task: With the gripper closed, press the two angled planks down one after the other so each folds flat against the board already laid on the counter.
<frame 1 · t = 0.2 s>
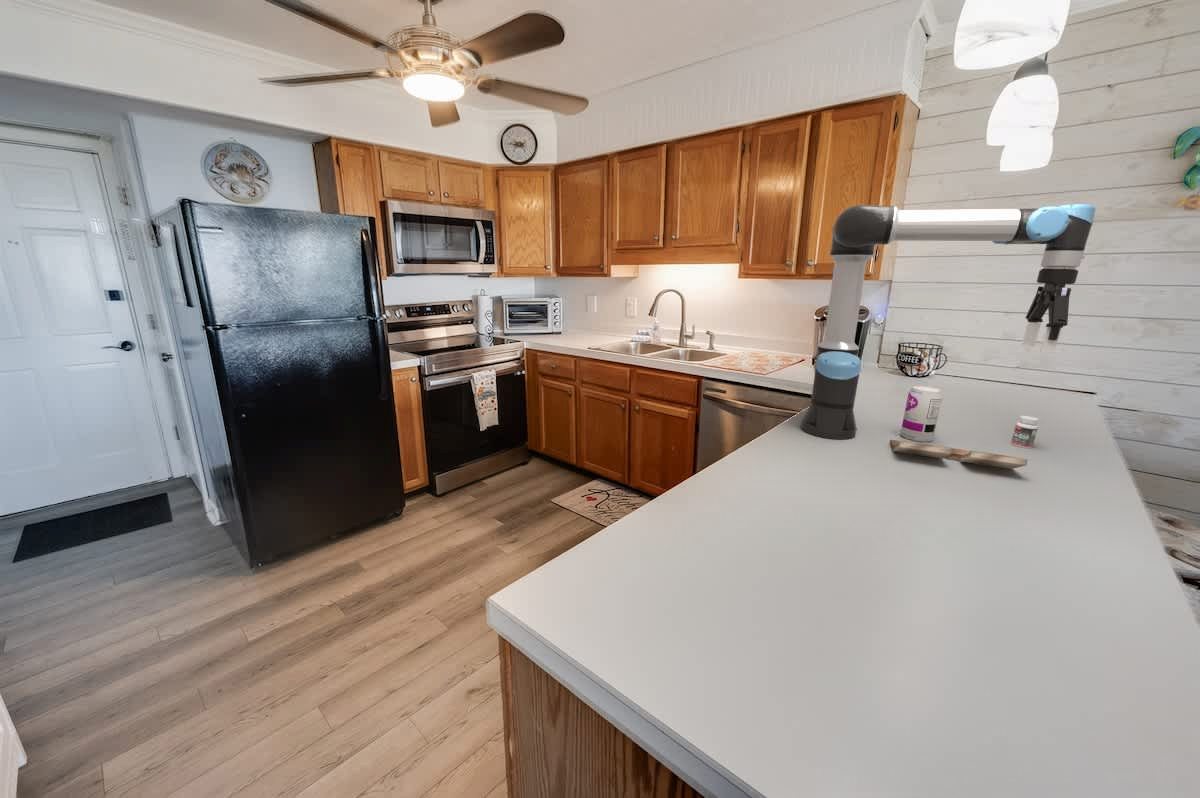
hand: (1037, 348, 131), 28 cm above the countertop, fingers open, 13 cm apart
pill bottle: (1021, 446, 137), on the countertop
plank b: (991, 460, 118), point 3 cm above the countertop, hinge at 28.0°
laid board: (946, 455, 128), on the countertop
supplement can: (916, 438, 141), on the countertop
plank a: (921, 449, 124), point 3 cm above the countertop, hinge at 28.0°
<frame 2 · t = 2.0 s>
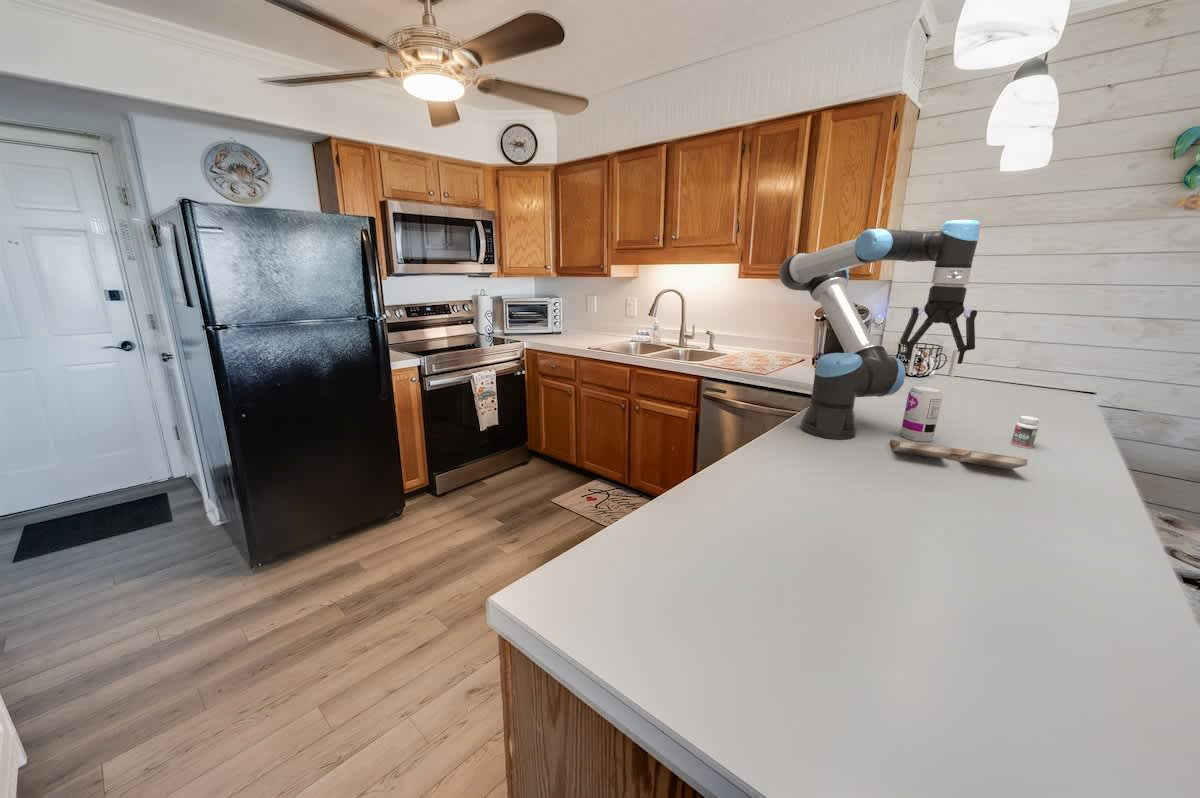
hand: (929, 373, 126), 21 cm above the countertop, fingers open, 9 cm apart
nothing on the countertop moved.
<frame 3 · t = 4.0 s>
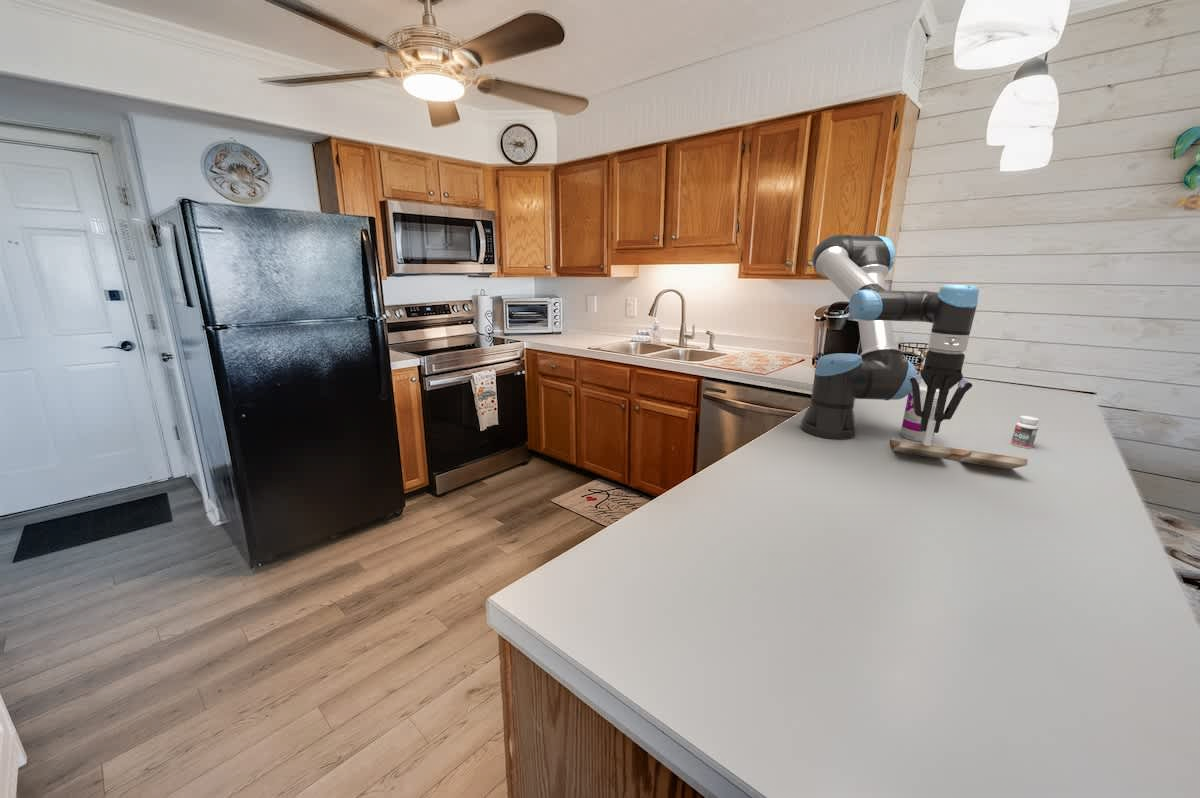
hand: (925, 443, 120), 5 cm above the countertop, fingers closed
plank a: (921, 449, 124), point 3 cm above the countertop, hinge at 28.0°, touching gripper
everything else where it was.
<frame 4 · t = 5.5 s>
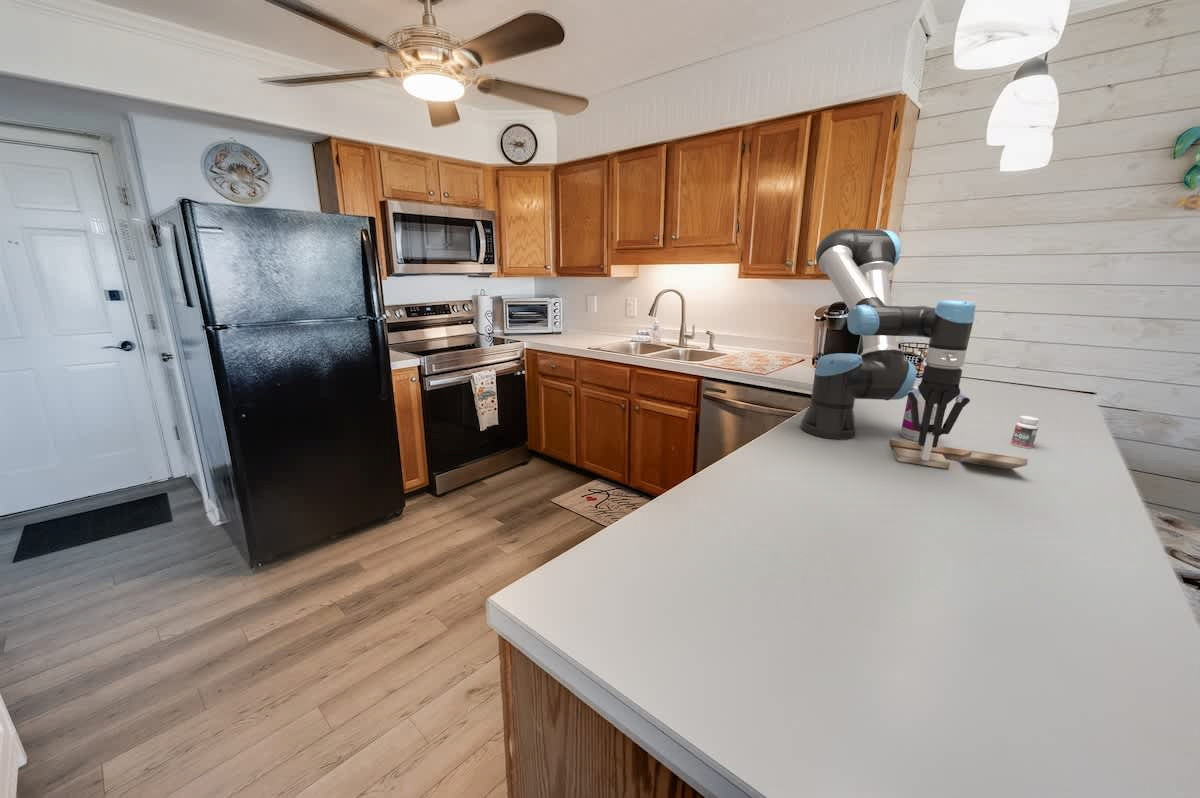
hand: (924, 458, 120), 2 cm above the countertop, fingers closed
plank a: (920, 457, 124), point 1 cm above the countertop, hinge at 1.8°, touching gripper
everything else where it was.
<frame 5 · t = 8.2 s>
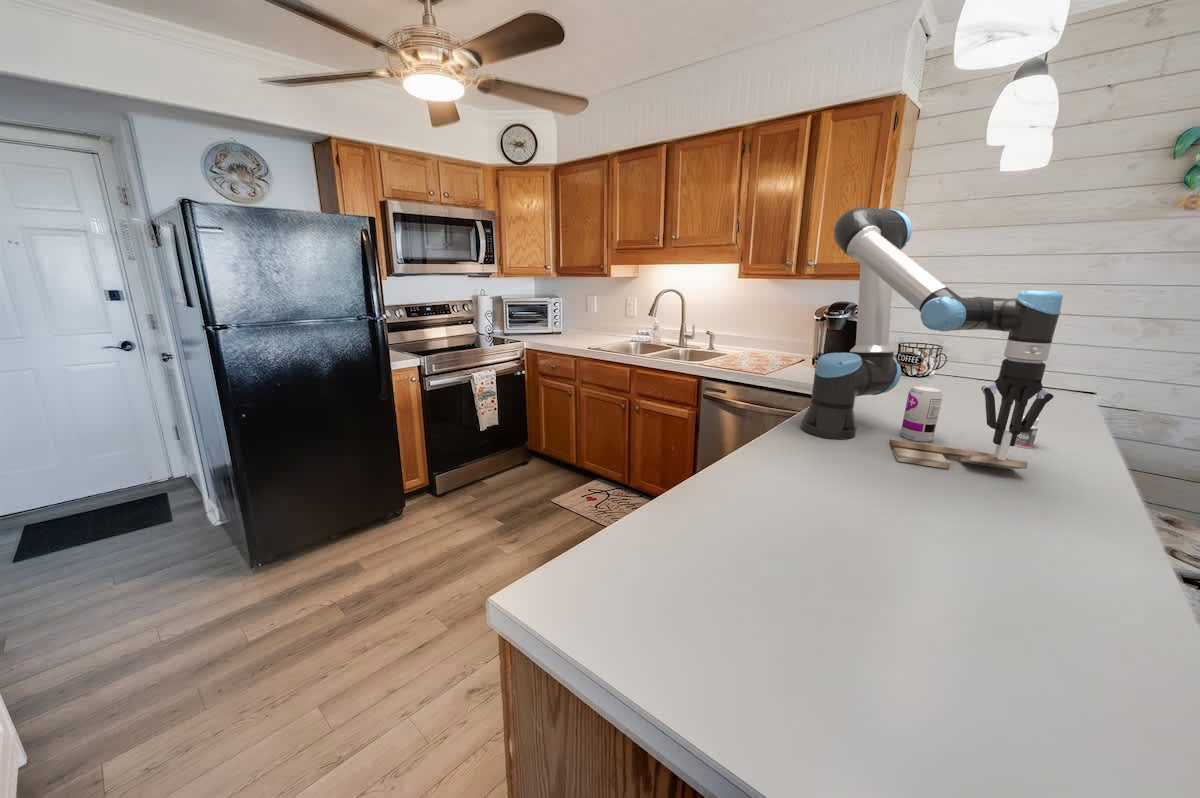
hand: (999, 457, 114), 5 cm above the countertop, fingers closed
plank b: (991, 461, 118), point 2 cm above the countertop, hinge at 22.6°, touching gripper
plank a: (920, 457, 124), point 1 cm above the countertop, hinge at 1.5°
everything else where it was.
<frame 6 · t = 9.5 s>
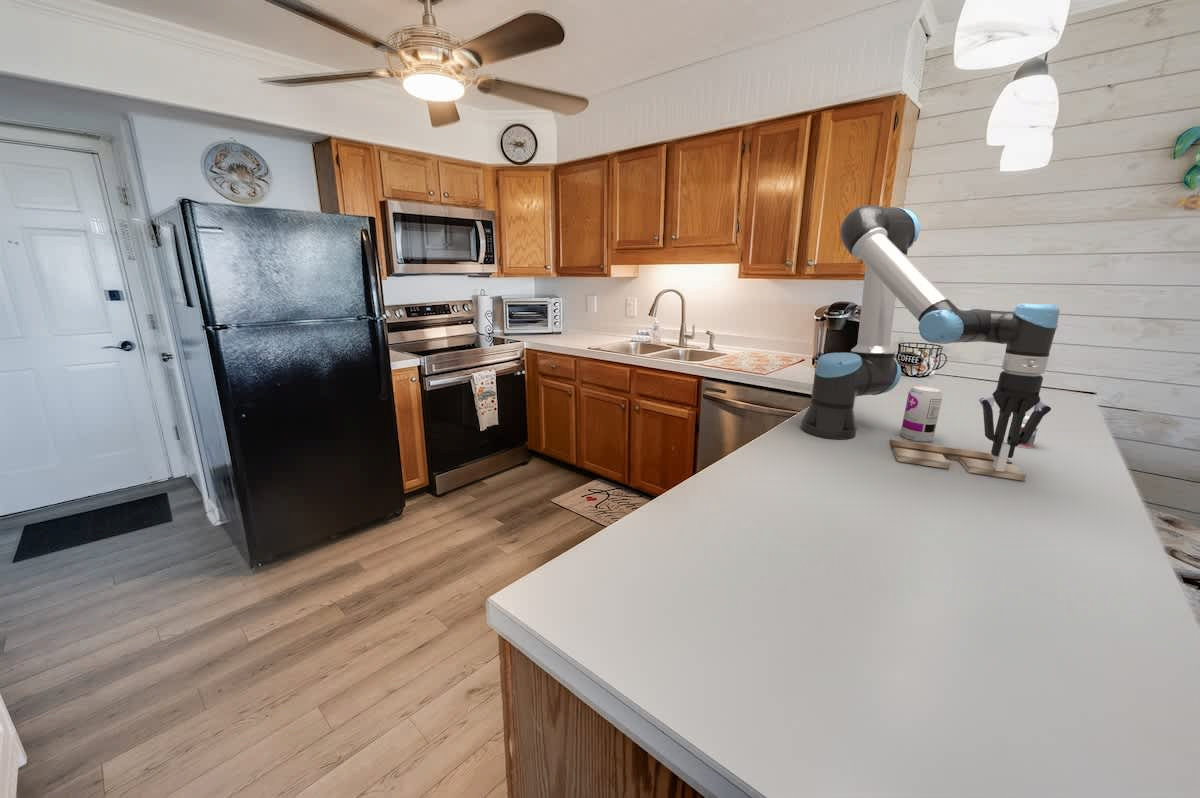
hand: (998, 469, 115), 2 cm above the countertop, fingers closed
plank b: (991, 467, 118), point 1 cm above the countertop, hinge at 1.3°, touching gripper
everything else where it was.
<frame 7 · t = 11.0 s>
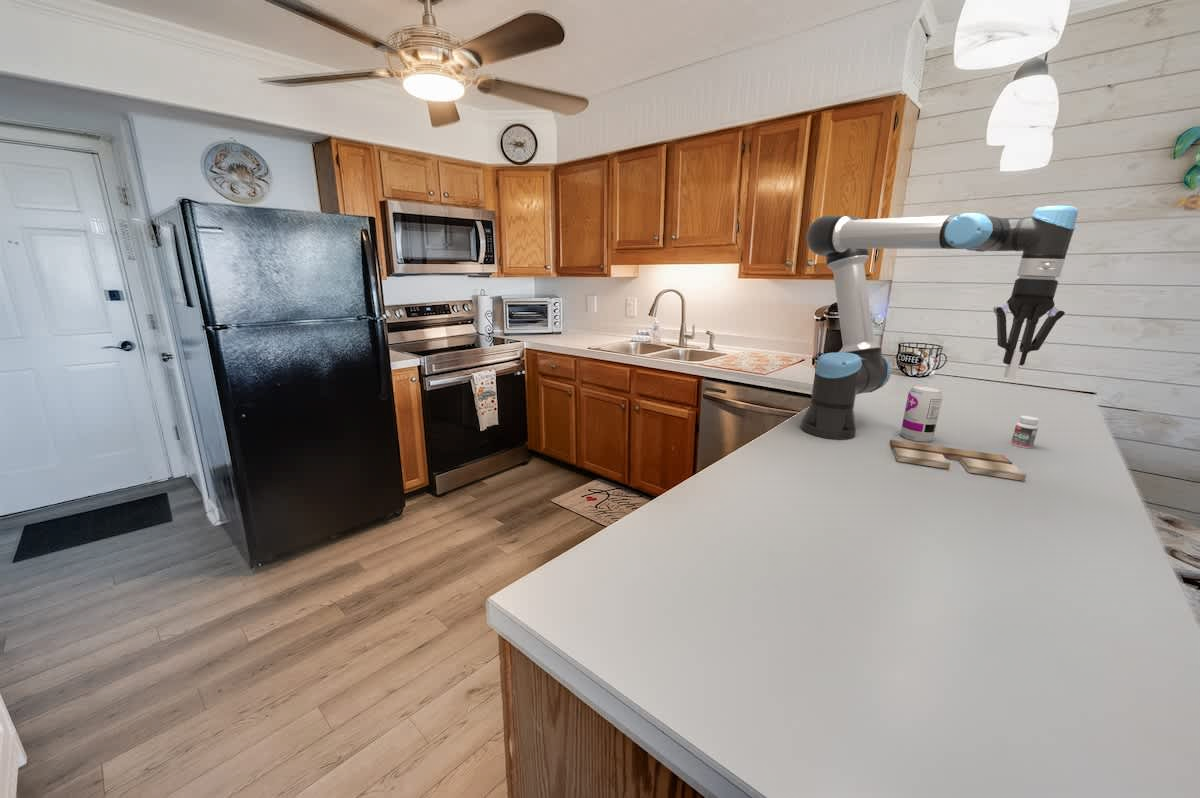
hand: (1009, 377, 117), 23 cm above the countertop, fingers closed
plank b: (991, 467, 118), point 1 cm above the countertop, hinge at 1.2°
everything else where it was.
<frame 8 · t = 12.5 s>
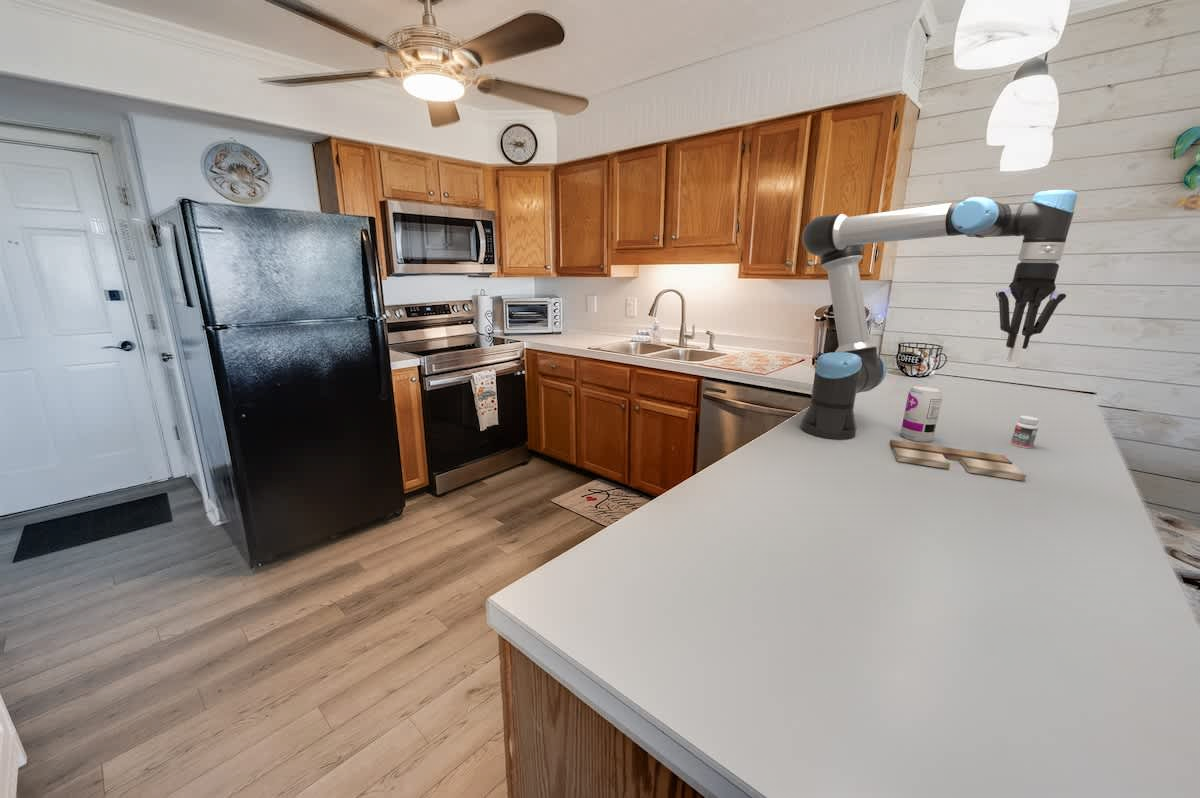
hand: (1012, 361, 118), 26 cm above the countertop, fingers closed
nothing on the countertop moved.
at the end: plank a at +2° (first picture: +28°); plank b at +1° (first picture: +28°) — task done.
